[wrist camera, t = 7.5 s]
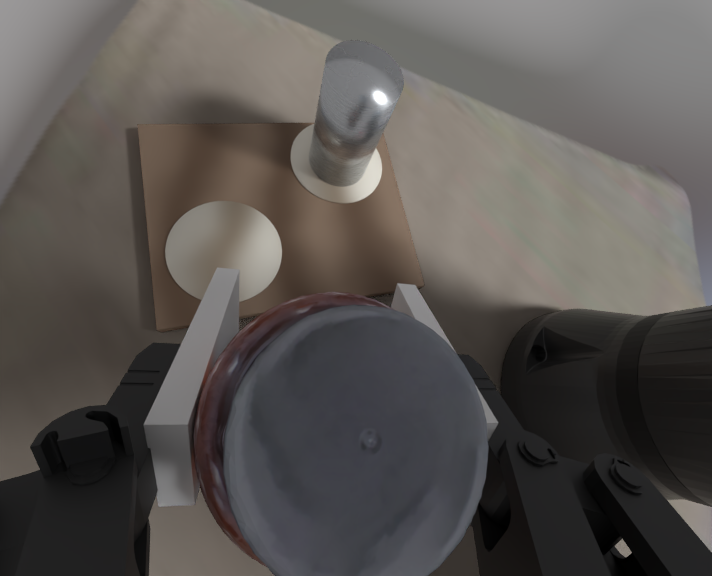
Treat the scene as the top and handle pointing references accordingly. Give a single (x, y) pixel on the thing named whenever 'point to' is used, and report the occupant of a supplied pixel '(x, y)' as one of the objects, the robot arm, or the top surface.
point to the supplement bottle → (341, 440)
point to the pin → (352, 110)
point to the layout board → (265, 219)
